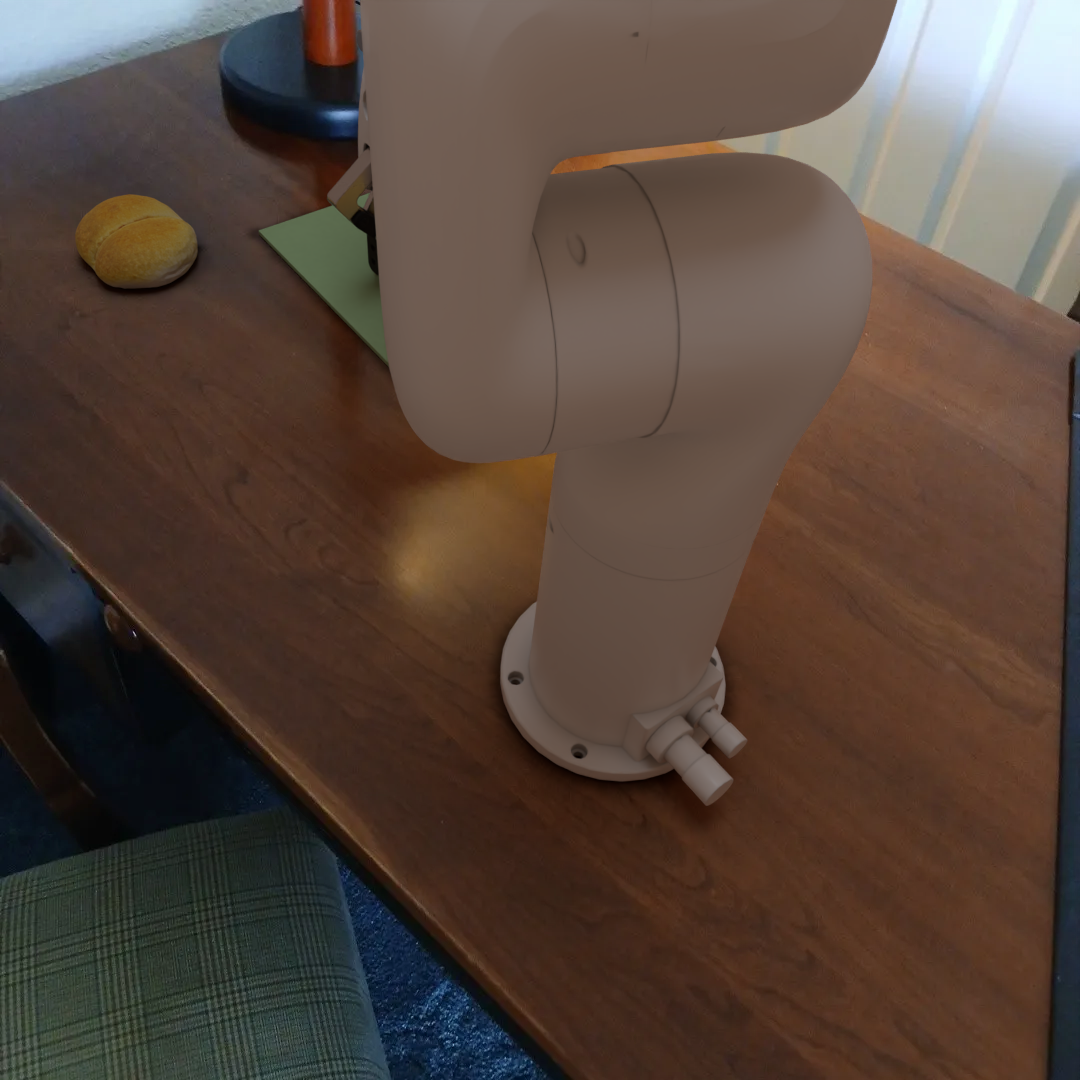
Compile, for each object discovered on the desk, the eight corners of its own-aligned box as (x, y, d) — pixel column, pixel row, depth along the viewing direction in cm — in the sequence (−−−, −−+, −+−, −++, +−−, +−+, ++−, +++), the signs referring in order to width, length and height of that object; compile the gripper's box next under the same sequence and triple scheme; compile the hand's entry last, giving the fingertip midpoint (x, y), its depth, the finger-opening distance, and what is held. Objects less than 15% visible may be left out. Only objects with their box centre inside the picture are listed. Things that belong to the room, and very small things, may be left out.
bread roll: (121, 308, 76) (107, 262, 73) (66, 247, 80) (51, 201, 77) (222, 269, 80) (214, 223, 77) (165, 213, 84) (155, 167, 81)
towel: (608, 305, 81) (609, 301, 81) (413, 392, 73) (413, 388, 73) (445, 171, 91) (445, 166, 91) (258, 234, 83) (258, 230, 83)
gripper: (344, 89, 62) (360, 324, 76) (570, 25, 70) (548, 249, 84) (281, 37, 66) (307, 271, 79) (503, -19, 73) (492, 203, 87)
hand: (431, 258), depth 81 cm, fingers open, 7 cm apart
